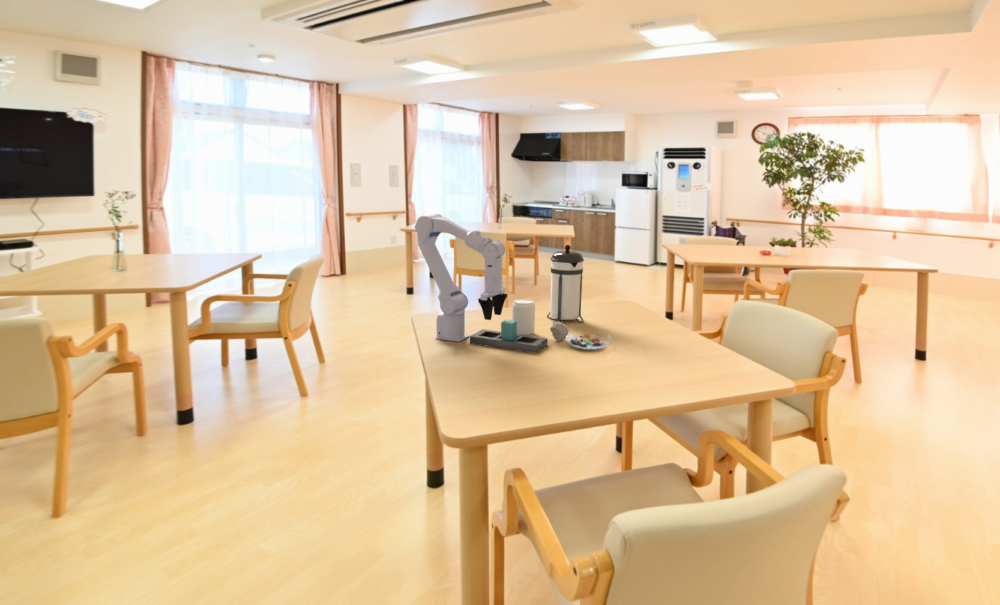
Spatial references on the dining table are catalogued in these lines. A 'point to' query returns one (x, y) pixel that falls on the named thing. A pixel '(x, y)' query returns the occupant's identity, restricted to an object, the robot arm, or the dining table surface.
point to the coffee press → (566, 285)
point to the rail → (509, 341)
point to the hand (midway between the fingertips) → (492, 317)
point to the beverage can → (524, 316)
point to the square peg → (509, 330)
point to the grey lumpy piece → (559, 331)
